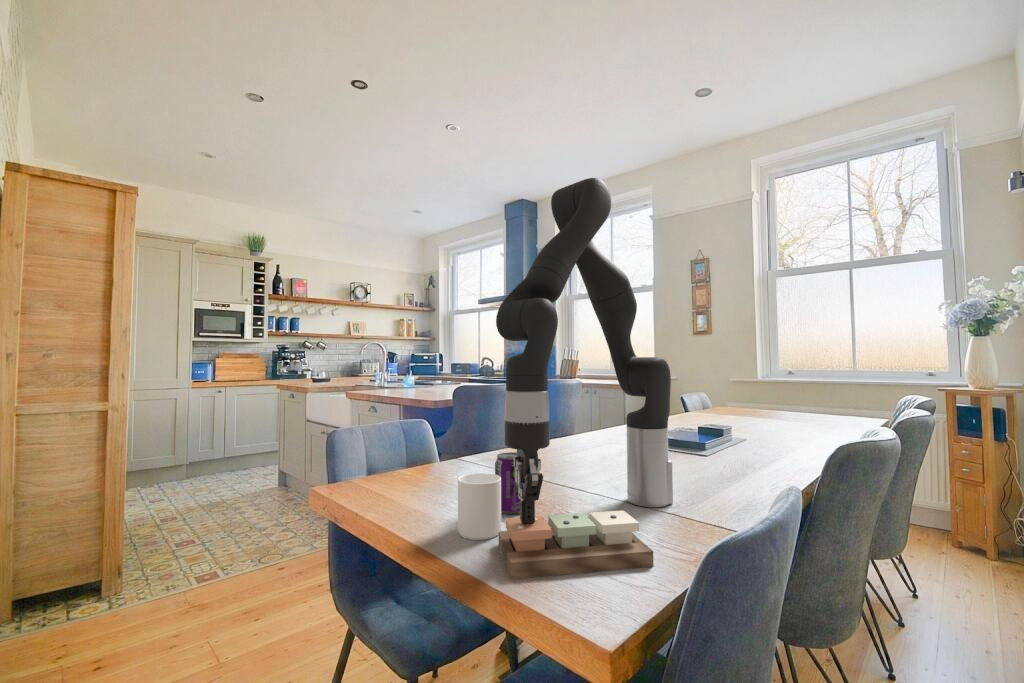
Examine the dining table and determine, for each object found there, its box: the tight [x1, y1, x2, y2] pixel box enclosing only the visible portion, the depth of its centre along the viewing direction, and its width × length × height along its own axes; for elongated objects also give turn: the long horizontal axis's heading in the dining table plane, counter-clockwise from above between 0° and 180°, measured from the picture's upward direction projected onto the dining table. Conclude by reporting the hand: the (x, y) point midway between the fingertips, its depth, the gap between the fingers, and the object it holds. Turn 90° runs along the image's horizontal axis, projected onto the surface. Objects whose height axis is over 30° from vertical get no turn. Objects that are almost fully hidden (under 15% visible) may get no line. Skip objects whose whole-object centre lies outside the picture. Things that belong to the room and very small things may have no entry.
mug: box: [457, 472, 502, 541], centre depth 91 cm, size 12×8×10 cm
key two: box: [547, 512, 596, 548], centre depth 79 cm, size 6×6×4 cm
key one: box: [588, 509, 640, 545], centre depth 80 cm, size 6×6×4 cm
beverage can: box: [494, 451, 520, 515], centre depth 103 cm, size 7×7×12 cm
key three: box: [505, 516, 552, 552], centre depth 78 cm, size 6×6×4 cm
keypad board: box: [498, 527, 655, 580], centre depth 79 cm, size 23×13×2 cm, turn 100°
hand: (527, 522), depth 78 cm, fingers closed
